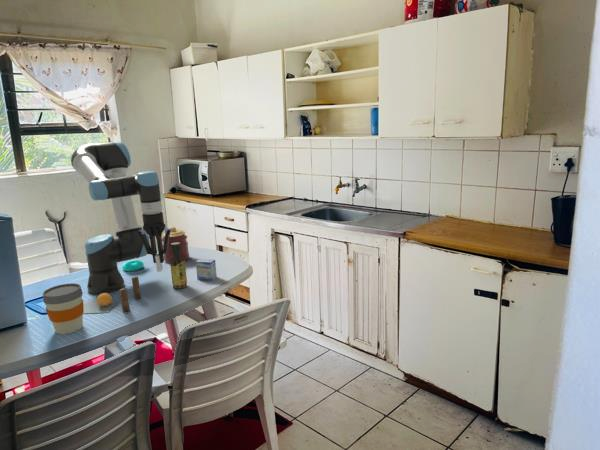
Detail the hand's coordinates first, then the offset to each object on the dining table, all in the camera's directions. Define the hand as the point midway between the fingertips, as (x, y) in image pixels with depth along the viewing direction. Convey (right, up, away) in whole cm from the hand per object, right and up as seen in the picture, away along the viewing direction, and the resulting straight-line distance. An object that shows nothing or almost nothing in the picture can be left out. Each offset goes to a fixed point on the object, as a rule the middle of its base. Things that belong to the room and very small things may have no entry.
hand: (160, 270), depth 176 cm
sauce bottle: (+3, -9, +20) cm, 22 cm away
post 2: (-12, -13, +10) cm, 20 cm away
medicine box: (+13, -7, +29) cm, 32 cm away
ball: (-23, -12, +3) cm, 26 cm away
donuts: (-28, -4, +47) cm, 55 cm away
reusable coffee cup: (-28, -20, -15) cm, 37 cm away
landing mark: (-26, -15, +4) cm, 30 cm away
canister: (-9, 0, +58) cm, 59 cm away
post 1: (-12, -16, -3) cm, 20 cm away
